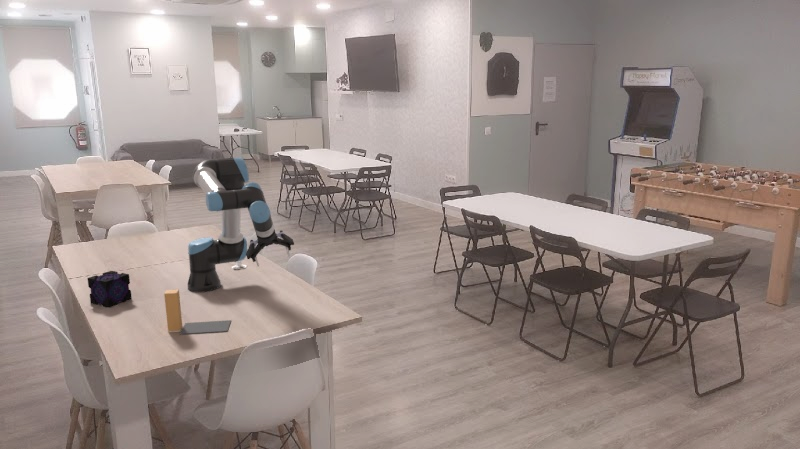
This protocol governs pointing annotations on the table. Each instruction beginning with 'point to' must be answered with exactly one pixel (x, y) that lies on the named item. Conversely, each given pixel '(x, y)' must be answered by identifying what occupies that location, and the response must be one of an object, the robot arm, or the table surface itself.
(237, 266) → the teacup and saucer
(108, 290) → the energy cube
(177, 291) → the tall block
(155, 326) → the table surface
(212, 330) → the mat
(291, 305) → the table surface
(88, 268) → the table surface
